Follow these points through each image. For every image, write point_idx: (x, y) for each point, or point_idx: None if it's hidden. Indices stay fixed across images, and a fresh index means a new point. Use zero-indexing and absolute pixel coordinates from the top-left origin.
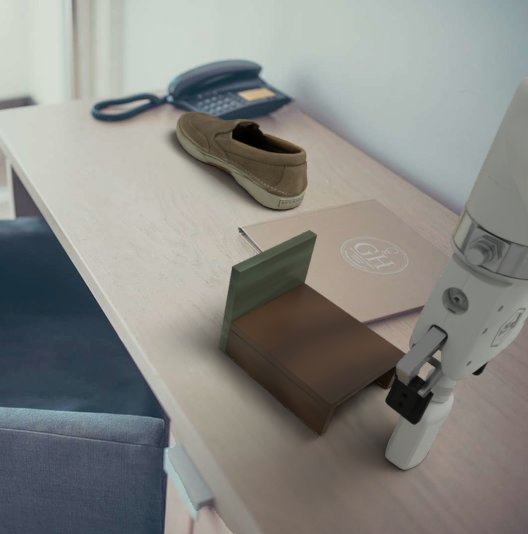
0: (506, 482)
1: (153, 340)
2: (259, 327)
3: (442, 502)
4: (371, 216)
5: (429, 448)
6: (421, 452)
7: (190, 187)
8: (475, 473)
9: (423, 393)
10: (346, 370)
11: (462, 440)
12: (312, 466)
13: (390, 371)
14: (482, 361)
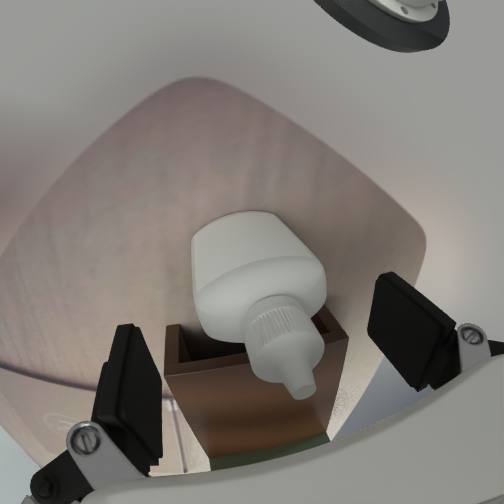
0: (141, 126)
1: (344, 409)
2: (310, 427)
3: (263, 148)
4: (57, 447)
5: (236, 222)
6: (267, 222)
7: None
8: (171, 159)
9: (483, 332)
10: None
11: (139, 214)
12: (356, 268)
13: (180, 351)
14: (464, 431)
